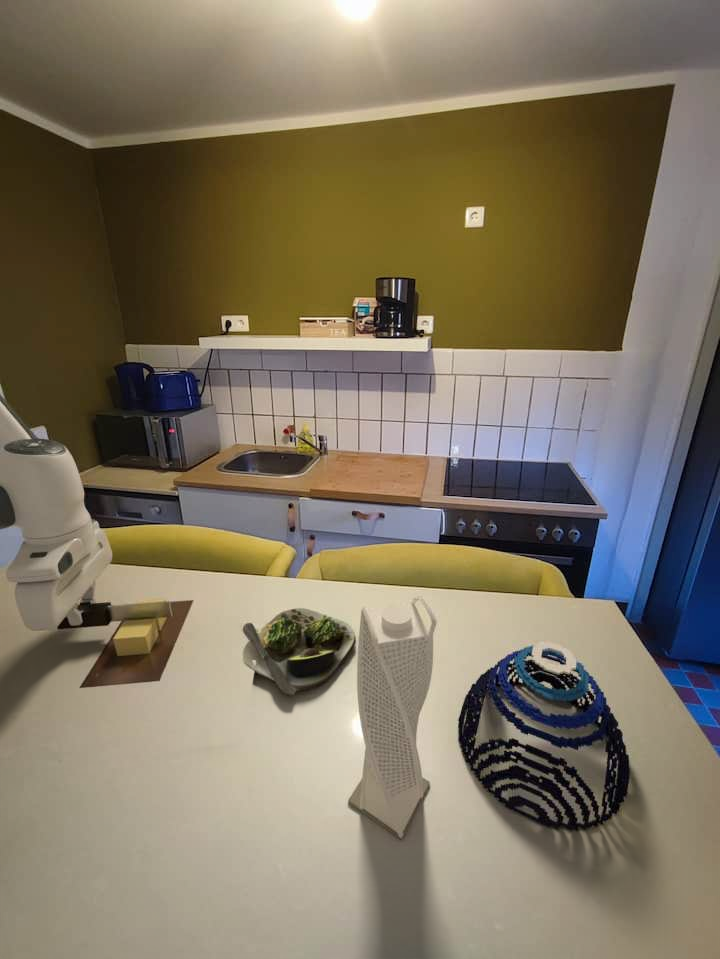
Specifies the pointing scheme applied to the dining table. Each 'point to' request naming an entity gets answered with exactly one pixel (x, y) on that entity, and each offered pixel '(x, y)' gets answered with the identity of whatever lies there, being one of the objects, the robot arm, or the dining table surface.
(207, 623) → the dining table surface
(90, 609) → the knife
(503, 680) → the decorative bowl
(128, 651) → the butter block
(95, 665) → the cutting board
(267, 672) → the salad plate
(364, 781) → the skyscraper
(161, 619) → the butter slice
